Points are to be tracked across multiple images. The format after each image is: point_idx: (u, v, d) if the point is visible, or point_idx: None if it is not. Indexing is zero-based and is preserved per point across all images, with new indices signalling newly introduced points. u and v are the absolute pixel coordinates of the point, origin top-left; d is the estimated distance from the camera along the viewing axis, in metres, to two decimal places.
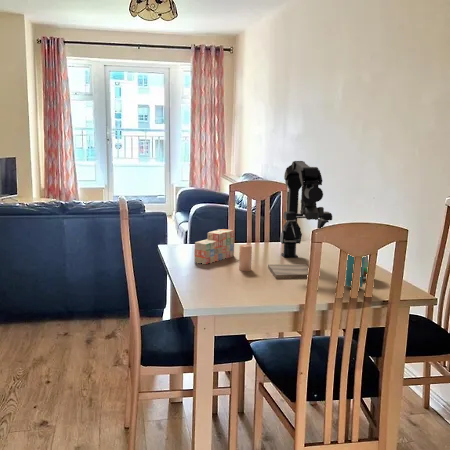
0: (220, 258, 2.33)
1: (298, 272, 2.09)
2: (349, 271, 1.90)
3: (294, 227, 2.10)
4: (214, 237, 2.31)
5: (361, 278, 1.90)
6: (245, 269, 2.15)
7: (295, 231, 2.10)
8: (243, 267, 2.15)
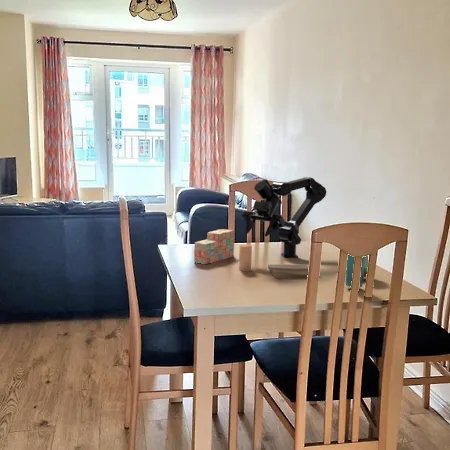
0: (220, 258, 2.32)
1: (298, 272, 2.09)
2: (349, 271, 1.90)
3: (247, 223, 2.26)
4: (214, 237, 2.30)
5: (361, 278, 1.90)
6: (245, 269, 2.15)
7: (247, 227, 2.25)
8: (243, 267, 2.15)
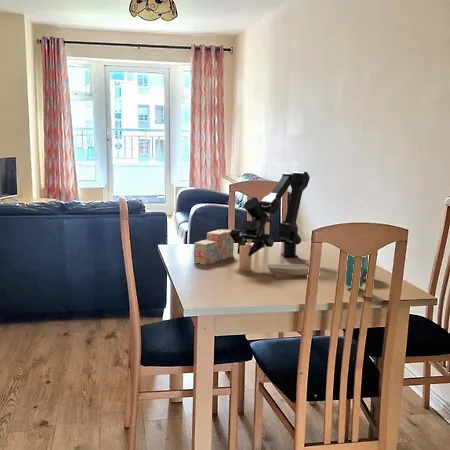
0: (219, 258, 2.32)
1: (298, 272, 2.09)
2: (349, 271, 1.90)
3: (239, 243, 2.18)
4: (213, 237, 2.30)
5: (361, 278, 1.90)
6: (245, 269, 2.15)
7: (238, 247, 2.17)
8: (243, 267, 2.15)
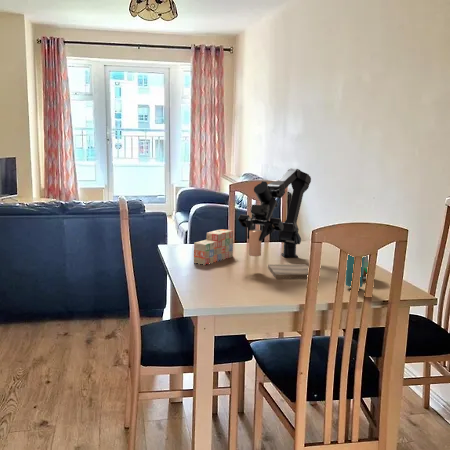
0: (219, 258, 2.32)
1: (298, 272, 2.09)
2: (349, 271, 1.90)
3: (248, 228, 2.15)
4: (213, 237, 2.30)
5: (361, 278, 1.90)
6: (256, 254, 2.12)
7: (248, 232, 2.14)
8: (253, 252, 2.12)
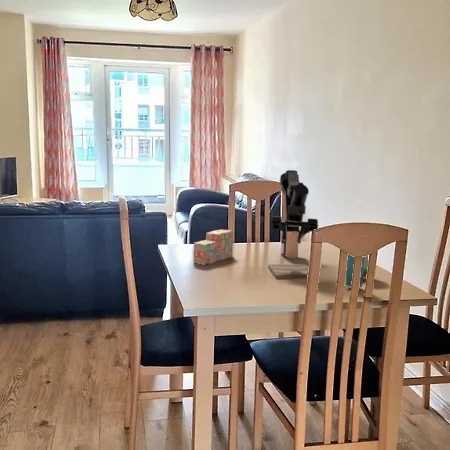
0: (219, 259, 2.31)
1: (298, 272, 2.09)
2: (349, 271, 1.90)
3: (284, 230, 2.12)
4: (213, 237, 2.30)
5: (361, 278, 1.90)
6: (294, 256, 2.10)
7: (284, 234, 2.11)
8: (292, 254, 2.10)
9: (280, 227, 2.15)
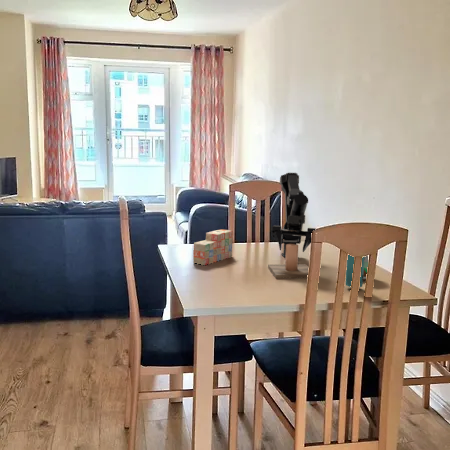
0: (219, 259, 2.31)
1: (298, 272, 2.09)
2: (349, 271, 1.90)
3: (279, 239, 2.13)
4: (213, 237, 2.29)
5: (361, 278, 1.90)
6: (294, 269, 2.11)
7: (279, 243, 2.13)
8: (291, 267, 2.11)
9: (275, 236, 2.16)
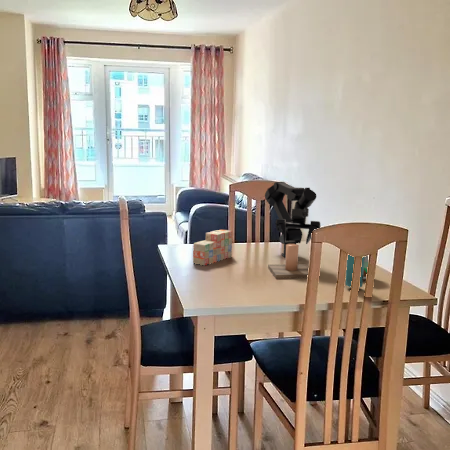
0: (218, 259, 2.31)
1: (298, 272, 2.09)
2: (349, 271, 1.90)
3: (283, 231, 2.22)
4: (212, 237, 2.29)
5: (361, 278, 1.90)
6: (294, 269, 2.11)
7: (284, 235, 2.21)
8: (291, 267, 2.11)
9: (280, 229, 2.25)
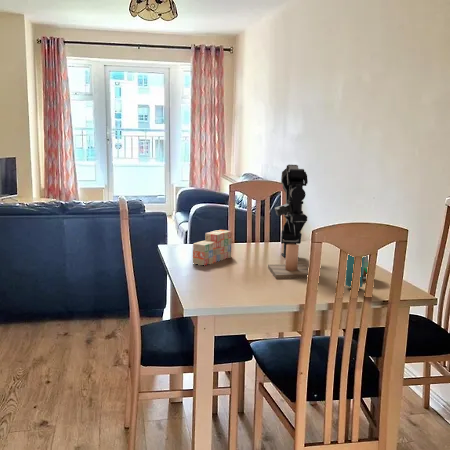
0: (218, 259, 2.31)
1: (298, 272, 2.09)
2: (349, 271, 1.90)
3: (288, 222, 2.30)
4: (212, 238, 2.29)
5: (361, 278, 1.90)
6: (294, 269, 2.11)
7: (289, 226, 2.30)
8: (291, 267, 2.11)
9: None
